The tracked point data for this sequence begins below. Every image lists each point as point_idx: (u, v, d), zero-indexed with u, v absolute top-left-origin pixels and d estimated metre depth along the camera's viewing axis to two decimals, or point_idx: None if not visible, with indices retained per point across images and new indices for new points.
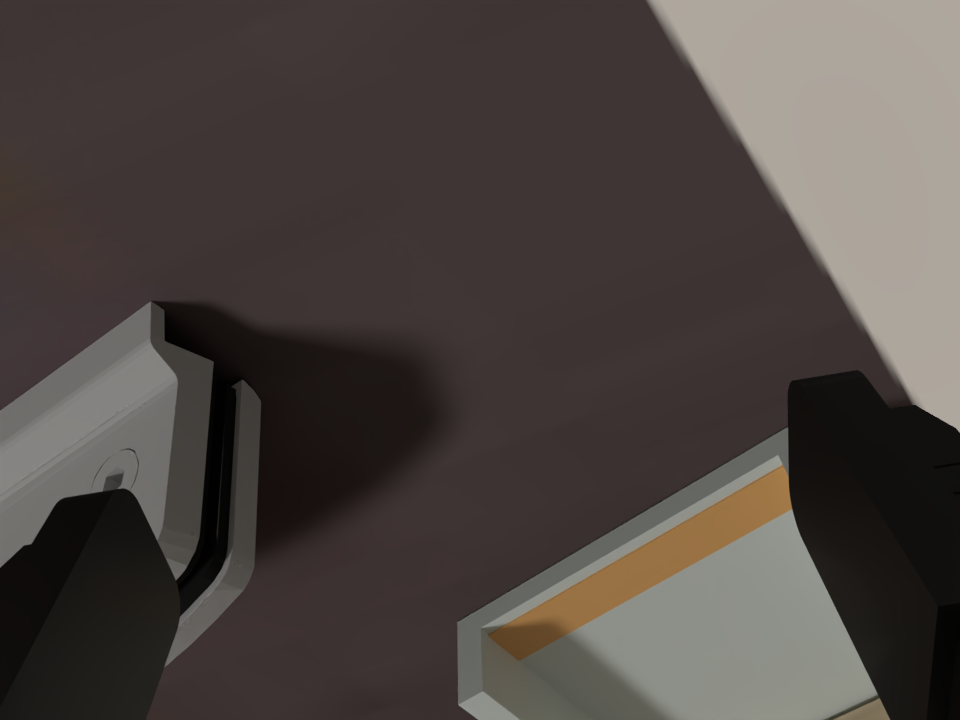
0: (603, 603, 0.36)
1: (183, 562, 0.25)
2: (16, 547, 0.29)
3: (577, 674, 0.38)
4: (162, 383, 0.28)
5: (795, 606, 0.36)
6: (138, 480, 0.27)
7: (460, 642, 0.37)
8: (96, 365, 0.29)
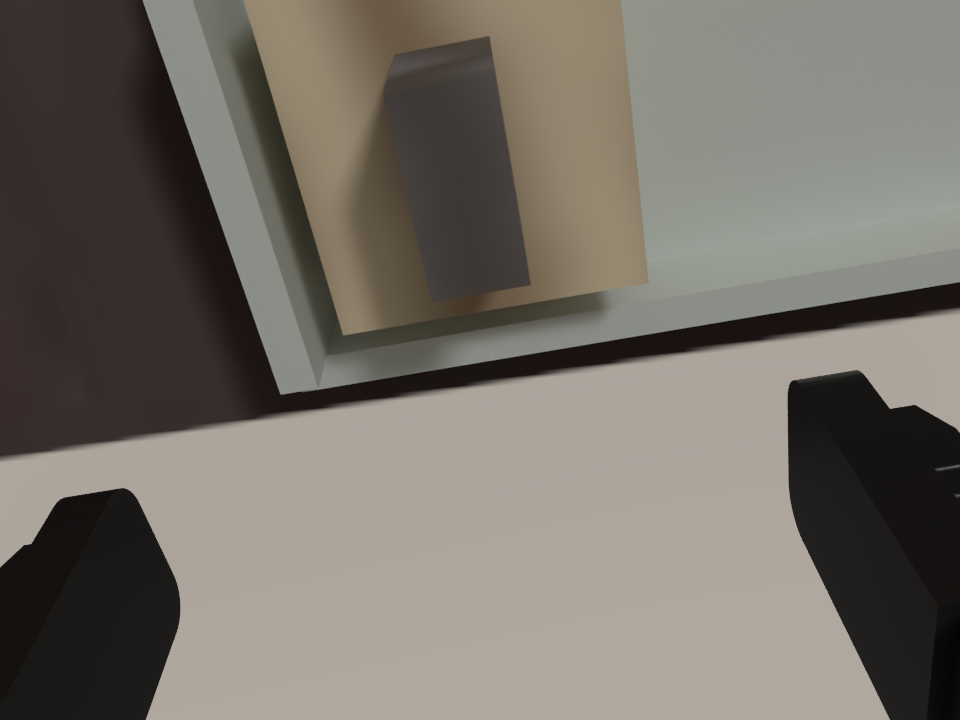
0: None
1: None
2: None
3: None
4: None
5: (836, 133, 0.29)
6: None
7: None
8: None
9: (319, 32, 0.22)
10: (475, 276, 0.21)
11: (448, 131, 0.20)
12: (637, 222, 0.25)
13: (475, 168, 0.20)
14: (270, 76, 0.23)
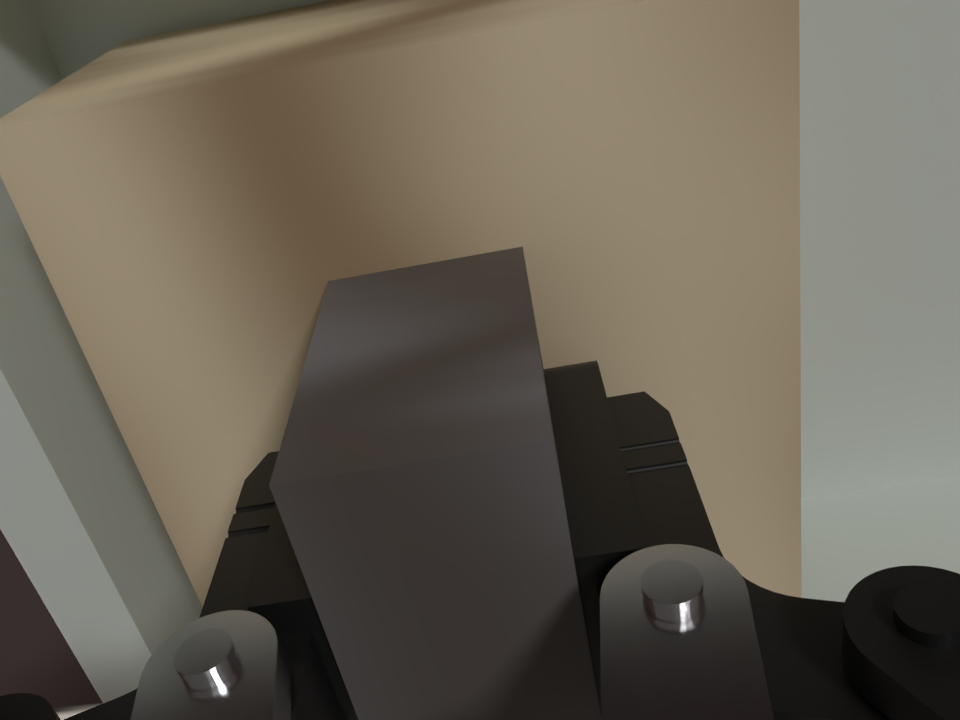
0: None
1: None
2: None
3: None
4: None
5: None
6: None
7: None
8: None
9: (169, 242, 0.11)
10: None
11: (434, 556, 0.08)
12: (793, 553, 0.13)
13: (500, 620, 0.08)
14: (77, 321, 0.11)
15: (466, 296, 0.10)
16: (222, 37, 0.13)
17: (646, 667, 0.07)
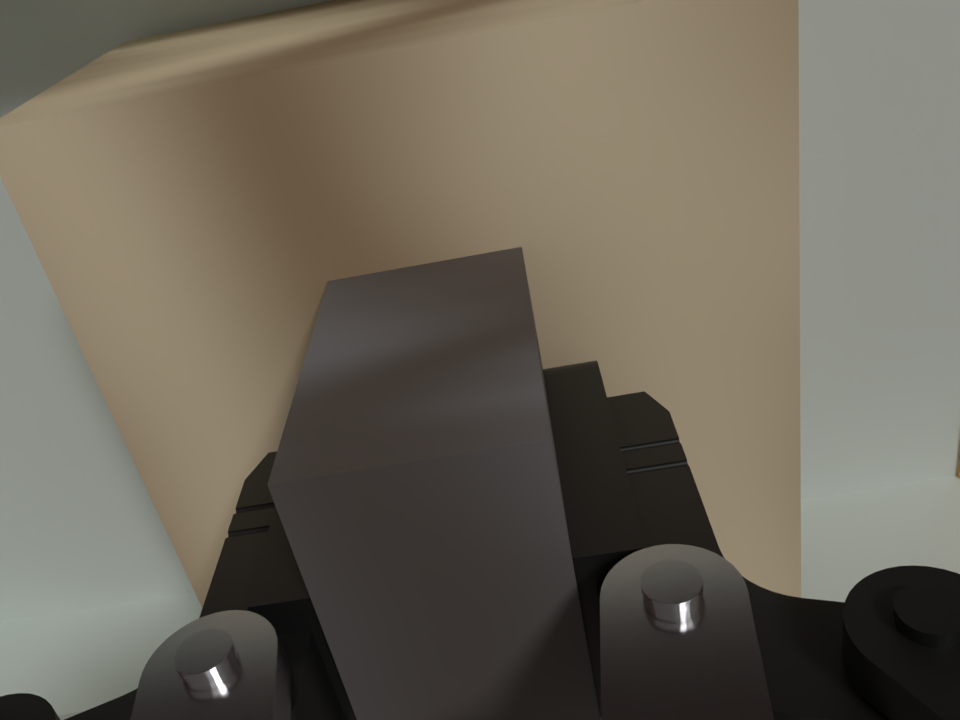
0: None
1: None
2: None
3: None
4: None
5: None
6: None
7: None
8: None
9: (168, 242, 0.11)
10: None
11: (432, 555, 0.08)
12: (792, 553, 0.13)
13: (499, 622, 0.08)
14: (76, 321, 0.11)
15: (465, 296, 0.10)
16: (222, 37, 0.13)
17: (646, 667, 0.07)
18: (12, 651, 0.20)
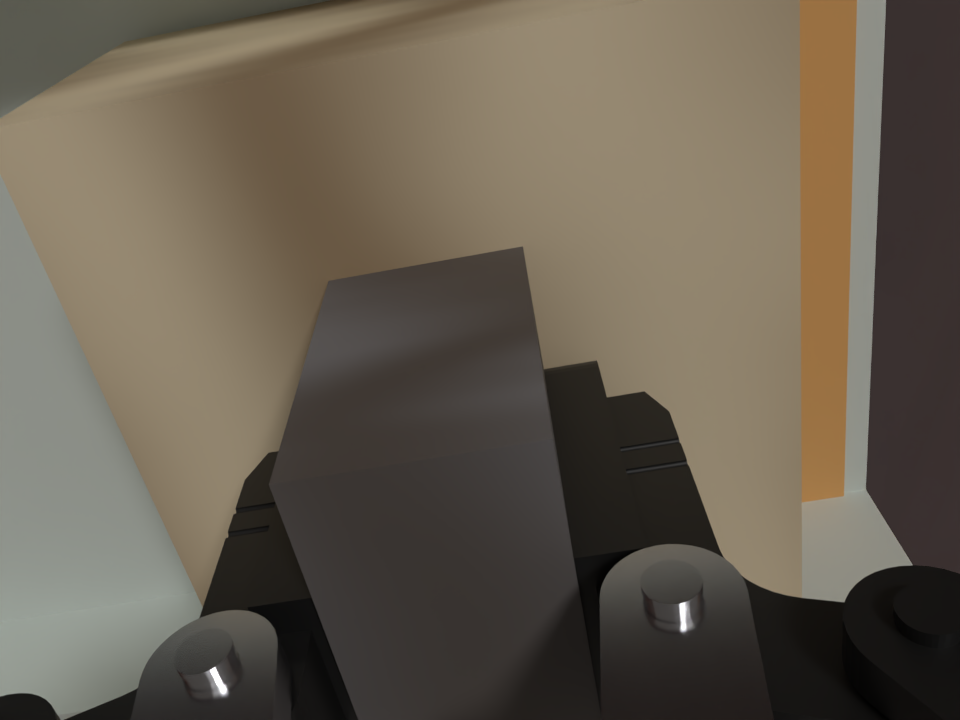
0: None
1: None
2: None
3: None
4: None
5: None
6: None
7: None
8: None
9: (169, 242, 0.11)
10: None
11: (434, 556, 0.08)
12: (793, 554, 0.13)
13: (500, 621, 0.08)
14: (77, 321, 0.11)
15: (466, 296, 0.10)
16: (223, 37, 0.13)
17: (646, 667, 0.07)
18: None
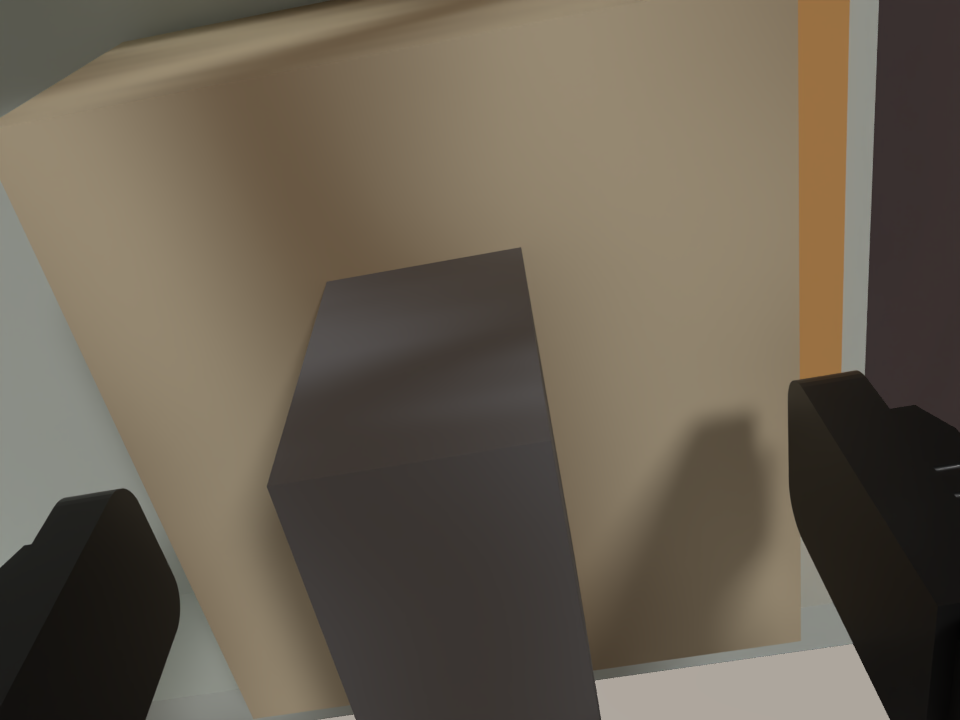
0: None
1: None
2: None
3: None
4: None
5: None
6: None
7: None
8: None
9: (167, 243, 0.11)
10: None
11: (433, 558, 0.08)
12: (792, 554, 0.13)
13: (498, 623, 0.08)
14: (75, 322, 0.11)
15: (464, 297, 0.10)
16: (221, 37, 0.13)
17: None
18: None
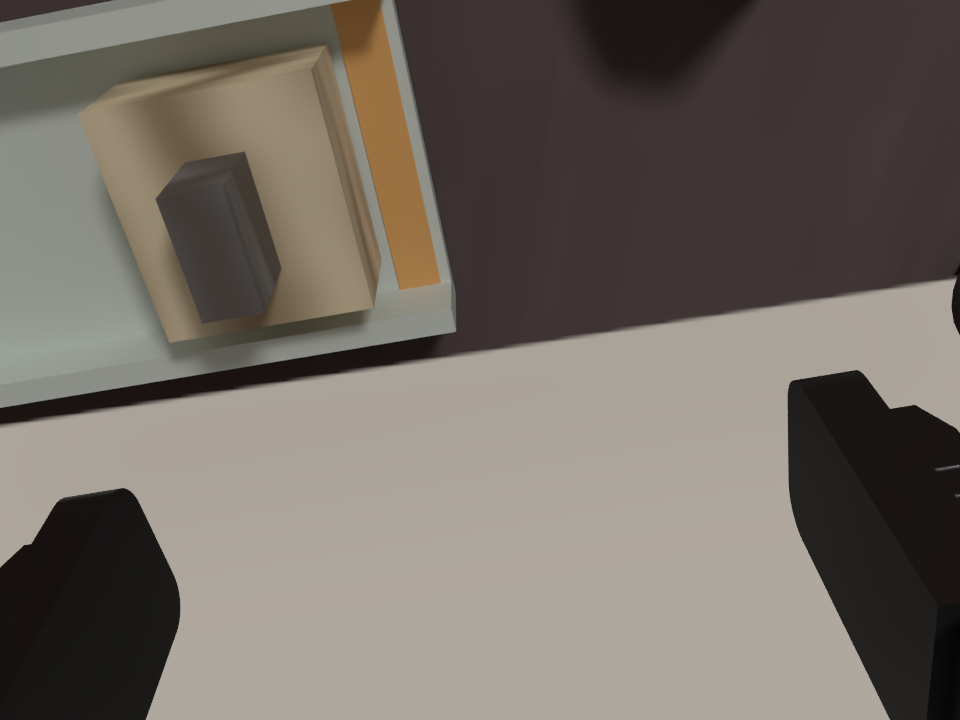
0: (366, 104, 0.39)
1: None
2: None
3: (280, 36, 0.38)
4: None
5: None
6: None
7: None
8: None
9: (133, 149, 0.35)
10: (228, 307, 0.34)
11: (198, 220, 0.32)
12: (360, 268, 0.37)
13: (218, 242, 0.32)
14: (104, 175, 0.35)
15: (221, 163, 0.34)
16: (154, 82, 0.37)
17: None
18: None
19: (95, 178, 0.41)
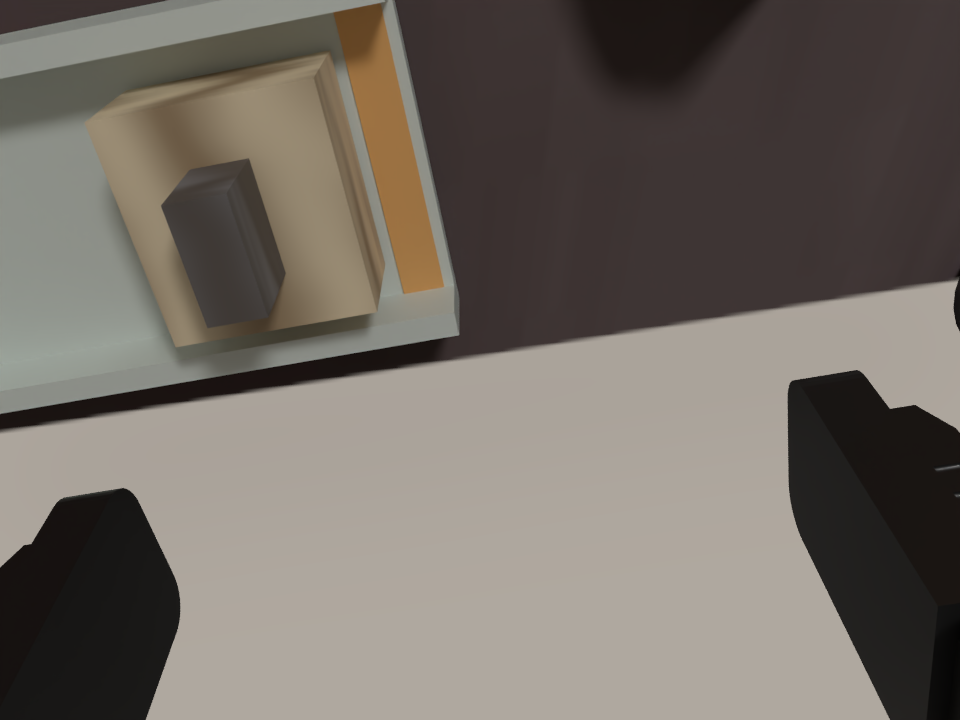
0: (369, 110, 0.40)
1: None
2: None
3: (283, 44, 0.38)
4: None
5: None
6: None
7: None
8: None
9: (140, 156, 0.35)
10: (232, 312, 0.34)
11: (203, 227, 0.32)
12: (363, 273, 0.38)
13: (223, 248, 0.33)
14: (111, 182, 0.36)
15: (225, 170, 0.34)
16: (160, 90, 0.37)
17: None
18: None
19: (102, 185, 0.41)
